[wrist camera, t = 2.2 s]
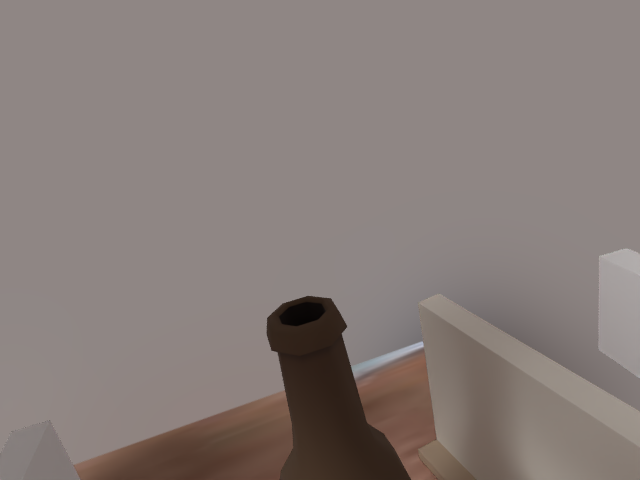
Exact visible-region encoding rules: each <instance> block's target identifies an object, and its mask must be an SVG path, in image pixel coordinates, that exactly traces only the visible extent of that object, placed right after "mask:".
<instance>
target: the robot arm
mask: <svg viewBox="0 0 640 480" xmlns="http://www.w3.org/2000/svg"><path fill="white" fill-rule="evenodd" d="M598 336H599V337H598V339H599V340H598V341H599V343H598V349H599V350H600V351H601V352H603V353H604V354H605V355H607V356H608V357H610V358H611V359H612V360H614V361H615V362H617V363H618V364H619V365H621V366H622V367H624V368H625V369H626V370H628V371H629V372H631V373H632V374H633V375H635V376H637V377H638V378H639V379H640V254H639V253H637V252H635V251H632V250H630V249H627V248H625V249H622V250H619V251H615V252H612V253H609V254H605V255H602V256H600V257H599V335H598ZM0 480H80V478H79V476H78V474H77V472H76V470H75V468H74V466H73V464H72V462H71V460H70V458H69V456H68V454H67V452H66V451H65V449H64V447H63V445H62V443H61V441H60V439H59V437H58V435H57V433H56V431H55V429H54V427H53V425H52V423H51V421H50V420H49V421H45V422H42V423H39V424H36V425H32V426H29V427H25V428H22V429H19V430H15V431H12V433H11V435H10V436H9V438H8V440H7V442H6V444H5V445H4V447H3V449H2V451H1V453H0Z"/></svg>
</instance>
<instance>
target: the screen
mask: <svg viewBox="0 0 640 480" xmlns="http://www.w3.org/2000/svg"><path fill="white" fill-rule="evenodd" d="M418 307H419V313H420V321H421V329H422V336H423V343H424V350H425V358H426V365H427V372H428V380H429V387H430V394H431V401H432V409H433V416H434V423H435V430H436V438H437V439H436V440H434V441H432V442H430V443H429V444H427V445H425V446H423V447H421V448H419V449H418V453H419V458H420V459H421V460H422V462H423V463H424V464H425V465H426V466H427V467H428V468H429V469H430V471H431V472H432V473H433V474H434V475H435V476H436V477H437V478H438V480H640V411H638V410H637V409H635V408H633V407H632V406H630V405H628V404H627V403H625V402H623V401H621V400H620V399H618V398H616V397H615V396H613V395H611V394H609V393H608V392H606V391H604V390H603V389H601V388H599V387H598V386H596V385H594V384H592V383H591V382H589V381H587V380H585V379H584V378H582V377H580V376H579V375H577V374H575V373H574V372H572V371H570V370H568V369H567V368H565V367H563V366H562V365H560V364H558V363H557V362H555V361H553V360H551V359H550V358H548V357H546V356H544V355H543V354H541V353H539V352H538V351H536V350H534V349H533V348H531V347H529V346H527V345H526V344H524V343H522V342H521V341H519V340H517V339H516V338H514V337H512V336H510V335H509V334H507V333H505V332H504V331H502V330H500V329H498V328H497V327H495V326H493V325H492V324H490V323H488V322H487V321H485V320H483V319H481V318H479V317H478V316H476V315H475V314H473V313H471V312H469V311H468V310H466V309H464V308H463V307H461V306H459V305H457V304H456V303H454V302H452V301H451V300H449V299H447V298H445V297H444V296H442V295H440V294H437V295H435V296H432V297H430V298H427V299H425V300H423V301H421V302H418Z"/></svg>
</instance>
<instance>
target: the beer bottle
mask: <svg viewBox="0 0 640 480" xmlns="http://www.w3.org/2000/svg"><path fill="white" fill-rule="evenodd" d="M346 328H347V325H346V323H345V321H344V320H343V318H342V316H341V314H340V312H339V311H338V309H337V307H336V306H335V304H334V303H333V301H332V299H331V298H322V297H313V296H306V297H303V298H300V299H296V300H293V301H290V302H286V303H283V304H282V305H281V306H280V307H279V308H278V309H276V310H275V311H274V312H273V313H272V314H271V315H270V316H269V317H268V318H267V337H268V340H269V344H270V347H271V350H272V351H276V352H278V356H279V361H280V366H281V371H282V376H283V381H284V386H285V391H286V396H287V401H288V406H289V411H290V416H291V421H292V431H293V449H292V451H291V453H290V455H289V457H288V459H287V461H286V463H285V464H284V466H283V468H282V470H281V475H280V480H411V479H410V477H409V475H408V473H407V471H406V470H405V468H404V466H403V464H402V462H401V461H400V459H399V457H398V455H397V453H396V451H395V450H394V448H393V447H392V445H391V444H390V442H389V441H388V440H387V438H386V437H385V435H384V434H383V433H382V432H380V431H378V430H377V429H375V428H374V427H372V426H370V425H369V424H367V421H366V418H365V415H364V411H363V408H362V404H361V401H360V397H359V394H358V390H357V387H356V383H355V380H354V376H353V373H352V369H351V365H350V362H349V359H348V355H347V351H346V348H345V344H344V341H343V338H342V332H343V331H344V330H345V329H346Z"/></svg>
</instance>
